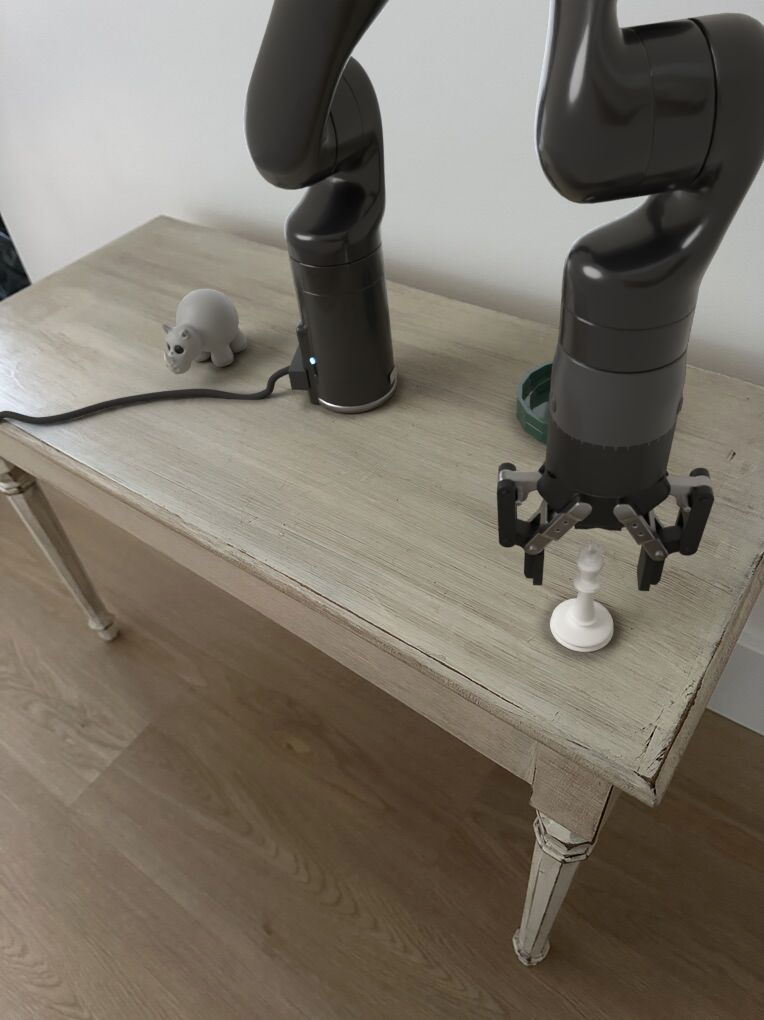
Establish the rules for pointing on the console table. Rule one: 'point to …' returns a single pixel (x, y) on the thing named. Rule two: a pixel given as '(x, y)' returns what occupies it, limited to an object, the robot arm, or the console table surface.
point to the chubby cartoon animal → (203, 331)
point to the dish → (535, 401)
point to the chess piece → (584, 607)
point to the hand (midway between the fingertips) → (589, 579)
